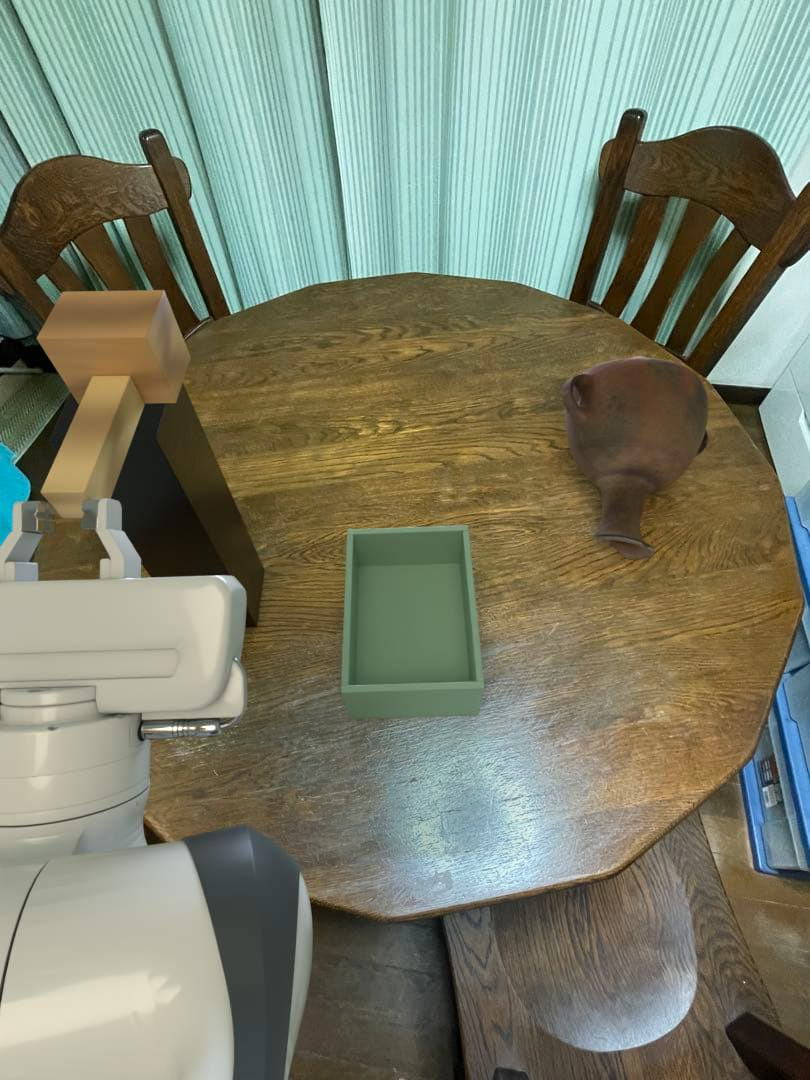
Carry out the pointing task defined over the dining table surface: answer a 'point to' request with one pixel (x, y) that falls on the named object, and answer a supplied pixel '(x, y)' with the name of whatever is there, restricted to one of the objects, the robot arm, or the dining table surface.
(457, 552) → the tray
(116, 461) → the mallet
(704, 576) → the dining table surface
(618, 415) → the jug
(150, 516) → the stand
